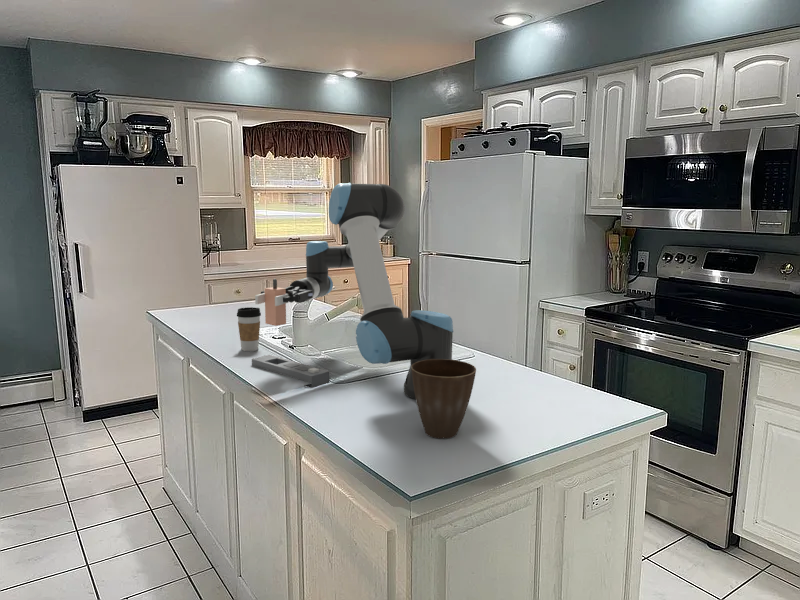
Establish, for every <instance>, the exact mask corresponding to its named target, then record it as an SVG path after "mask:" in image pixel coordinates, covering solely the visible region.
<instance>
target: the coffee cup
mask: <svg viewBox="0 0 800 600" xmlns="http://www.w3.org/2000/svg"><path fill="white" fill-rule="evenodd" d="M261 313H262V312H261V309H260V307H252V306H251V307H249V306H247V307H241V308H238V309H237V313H236V317H237V320H238V321H237V325H238V333H239V341H240V347H241V349H240V350H241V351H244V352H254V351H258V350H259V343H260V342H259V339H260V332H261V331H260V327H261V319H260V318H261V316H262V315H261Z"/></svg>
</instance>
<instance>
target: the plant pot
mask: <svg viewBox="0 0 800 600" xmlns="http://www.w3.org/2000/svg"><path fill="white" fill-rule="evenodd" d="M411 370H412V378H413V386H414V392H415V397H416V399H415V401H416V407H417V409H418V413H419V417H420V420H421V424H422V426H423V429H424V432H425V434H426V435H427V436H428V437H430V438H434V439H440V440H441V439H443V440H445V439H452V438H454V437H456V436H457V434H458V432H459V430H460V428H461V425H462V423H463V420H464V417H465V415H466V413H467V409H468V406H469V404H470V399H471V396H472V392H473V388H474V384H475V378H476V373H477V368H476V367H475V365H473V364H471V363H470V362H465V361H462V360H456V359H452V360H450V359H429V360H422V361H418V362H416V363H414V364H412V366H411Z"/></svg>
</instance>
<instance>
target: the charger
mask: <svg viewBox="0 0 800 600" xmlns="http://www.w3.org/2000/svg"><path fill="white" fill-rule="evenodd" d="M285 288H286V287H278V279H276V278H273V279H272V287H266V288H265V287H264V291H265V302H264V315H265V316H264V318H265V320H264V321H265V322H264V323H265V324H266V325H271V326H275V327H277V326H282V325H286V324H287V303H285V304H282V305H279V306H275V297H276V296H280V295H283V294H286V289H285Z"/></svg>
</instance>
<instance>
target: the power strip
mask: <svg viewBox="0 0 800 600" xmlns="http://www.w3.org/2000/svg"><path fill="white" fill-rule="evenodd" d="M251 366H253V367H256V368H259V369H264V370H267V371H269V372H274V373H277V374H280V375H283V376H286V377H289V378H293V379H296V380H300V381H304V382H307V384H304V385H303V386H305V387H307V388H311V389H313V388H315V387H320V386H323V385H326V383H327V384H329V383H330V371H329V370H327V369H323V368H320V367H315V366H311V365H308V364H305V363H300V362H296V361H293V360H290V359H287V358H282V357H279V356H275V355H272V354H267V355H263V356H258V357H255V358H251Z"/></svg>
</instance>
